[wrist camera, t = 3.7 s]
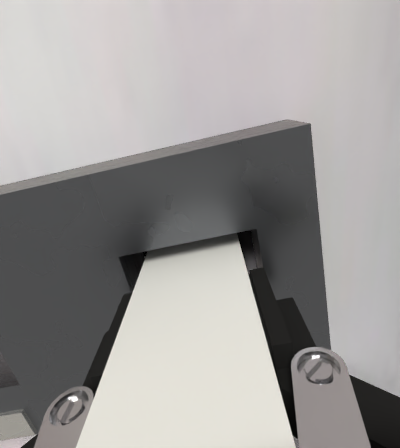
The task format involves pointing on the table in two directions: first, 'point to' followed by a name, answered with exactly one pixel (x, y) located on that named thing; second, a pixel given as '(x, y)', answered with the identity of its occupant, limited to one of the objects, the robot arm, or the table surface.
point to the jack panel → (143, 247)
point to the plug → (190, 359)
